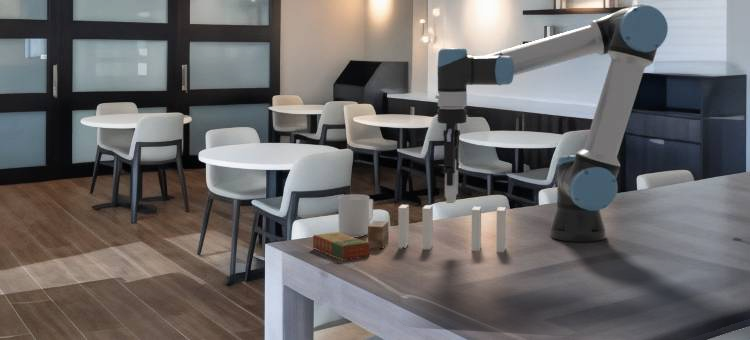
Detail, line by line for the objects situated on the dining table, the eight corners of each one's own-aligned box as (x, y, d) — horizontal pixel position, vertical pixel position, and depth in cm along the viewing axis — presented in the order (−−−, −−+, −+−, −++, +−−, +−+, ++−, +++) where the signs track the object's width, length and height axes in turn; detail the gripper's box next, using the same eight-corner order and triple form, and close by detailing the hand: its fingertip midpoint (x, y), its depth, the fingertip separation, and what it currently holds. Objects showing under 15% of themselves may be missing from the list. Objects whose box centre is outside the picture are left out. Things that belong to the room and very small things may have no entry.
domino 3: (456, 200, 231) (456, 159, 230) (453, 203, 226) (454, 161, 225) (448, 199, 232) (448, 159, 230) (446, 203, 227) (446, 161, 225)
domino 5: (505, 248, 230) (505, 207, 229) (504, 252, 225) (504, 210, 224) (497, 247, 231) (498, 207, 229) (496, 251, 226) (496, 210, 224)
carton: (339, 246, 236) (339, 231, 235) (370, 257, 222) (370, 241, 222) (312, 250, 232) (312, 234, 231) (342, 261, 218) (342, 245, 217)
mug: (354, 239, 243) (354, 200, 241) (332, 235, 249) (331, 197, 247) (383, 232, 252) (382, 195, 250) (361, 229, 258) (360, 192, 256)
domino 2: (432, 245, 234) (432, 205, 233) (430, 249, 229) (429, 208, 228) (425, 245, 235) (425, 205, 233) (422, 249, 230) (422, 208, 228)
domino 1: (409, 244, 236) (408, 204, 234) (405, 248, 231) (405, 208, 229) (401, 244, 236) (401, 204, 235) (398, 248, 231) (398, 207, 230)
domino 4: (480, 247, 232) (481, 206, 230) (479, 251, 227) (479, 209, 225) (473, 246, 232) (473, 206, 231) (471, 251, 227) (471, 209, 226)
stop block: (388, 242, 238) (388, 221, 238) (382, 248, 231) (382, 226, 230) (374, 242, 239) (374, 220, 238) (368, 248, 231) (367, 226, 231)
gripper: (442, 105, 235) (441, 190, 238) (432, 109, 218) (432, 201, 221) (469, 105, 234) (469, 191, 237) (462, 110, 216) (461, 201, 219)
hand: (451, 195), depth 229 cm, fingers closed on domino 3, 5 cm apart
